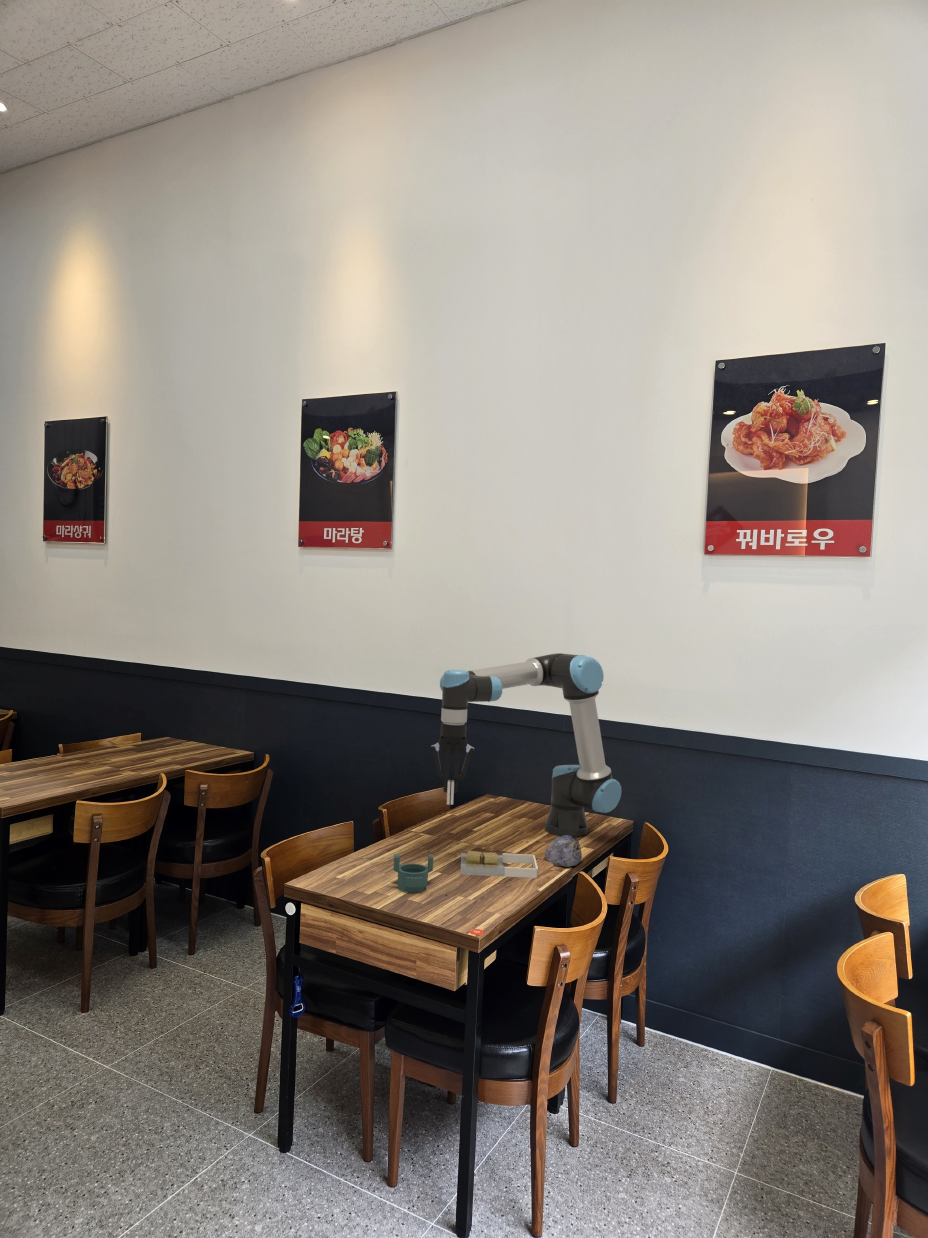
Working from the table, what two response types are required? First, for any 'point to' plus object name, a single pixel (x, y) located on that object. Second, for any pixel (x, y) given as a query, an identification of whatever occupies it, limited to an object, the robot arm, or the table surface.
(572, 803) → the robot arm
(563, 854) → the rock
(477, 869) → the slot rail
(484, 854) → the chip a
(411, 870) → the teal round pot
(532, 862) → the tray
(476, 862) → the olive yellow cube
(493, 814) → the table surface
